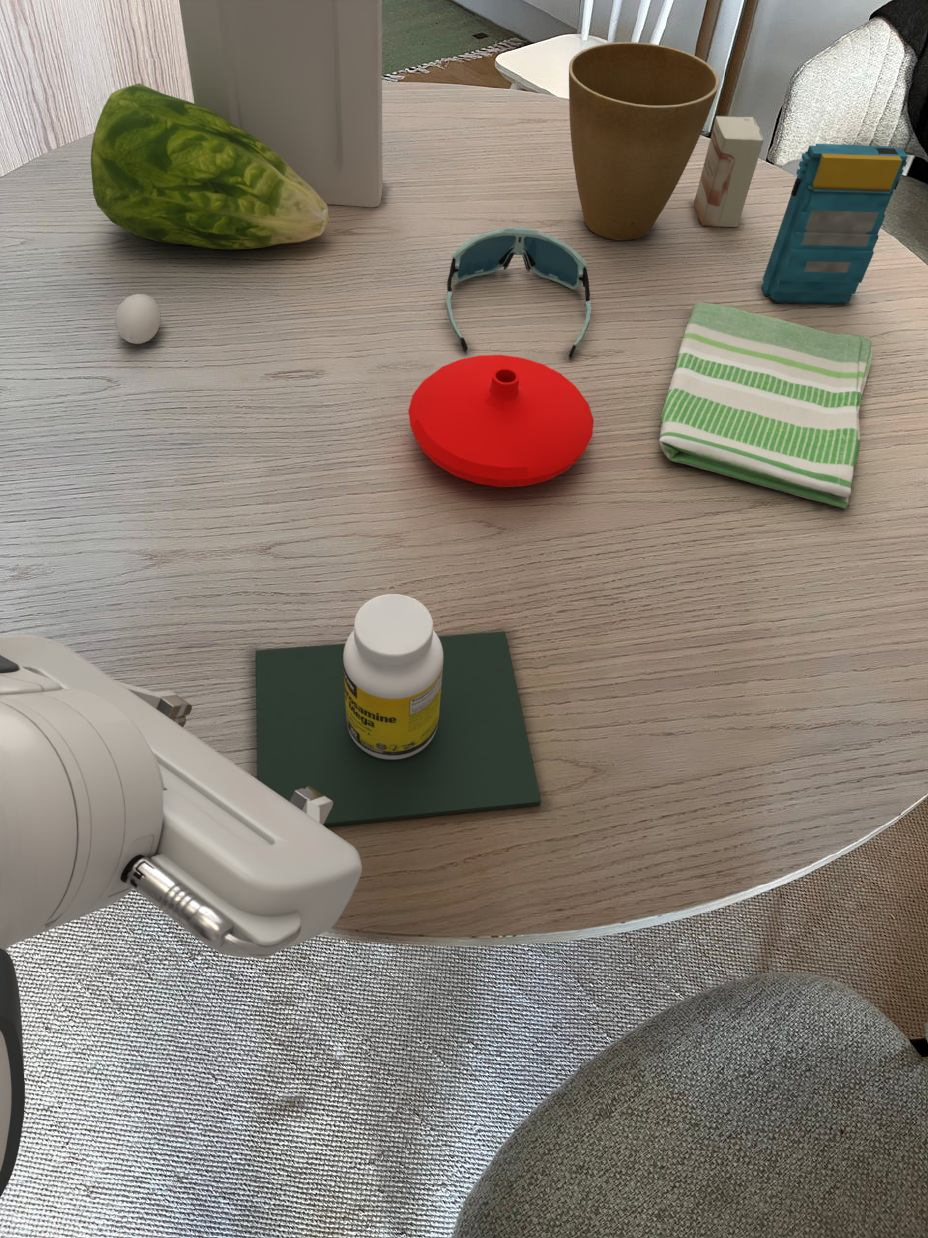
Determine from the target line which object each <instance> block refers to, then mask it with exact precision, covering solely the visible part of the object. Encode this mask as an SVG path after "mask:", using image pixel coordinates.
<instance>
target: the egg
mask: <svg viewBox="0 0 928 1238" xmlns="http://www.w3.org/2000/svg"><path fill="white" fill-rule="evenodd" d="M161 314H162V313H161V310H160V307H159V305H158V303H157V301H155V300H154V298H152V297H151V296H149V295H147V294H144V293H135V294H132V295H128V297H126V298H125V299H123V300H122V302H121V303H120V304H119V306H118V308H117V311H116V313H115V327H116V330H117V332H118V334H119V336H120V337H121V338H122V339H123V340H124V341H126V342H127V343H130V344H135V345H140V344H144V343H147V342H149V341H150V340H152V339H153V338H154V337H155V336H156V335H157V333H158V331H159V328H160V326H161V323H162V317H161V316H162V315H161Z"/></svg>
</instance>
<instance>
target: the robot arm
mask: <svg viewBox="0 0 928 1238" xmlns="http://www.w3.org/2000/svg"><path fill="white" fill-rule="evenodd" d="M192 709H193V705H192V704H191V703H190V702H188V701H186V700H185V699H183V698H182V697H181V696H179V695H178V694H177V693H175V692H174V691H172V690H170V689H169V690H159V691H158V690H157V691H153V690H150V689H146V688H143V687H140V686H135V685H132V684H129V683H126V682H122V681H117V680H115V679H114V678H112V677H111V676H110V675H108V674H106V672H104V671H102V670H101V669H100V668H98V667H97V666H96V665H94V664H92V663H91V662H89V661H88V660H87V659H85V658H84V657H83V656H81V655H80V654H78V653H77V652H76V651H74V650H73V649H72V648H70V647H69V646H67V645H66V644H63V643H60V642H58V641H55V640H52V639H50V638H46V637H42V636H39V635H36V634H35V635H34V634H19V633H0V1198H1V1197H2V1195H3V1194H4V1192H5V1190H6V1188H7V1186H8V1184H9V1182H10V1179H11V1178H12V1175H13V1172H14V1169H15V1166H16V1163H17V1160H18V1155H19V1150H20V1146H21V1139H22V1133H23V1127H24V1120H25V1110H26V1109H25V1107H26V1080H25V1058H24V1040H23V1039H24V1037H23V1021H22V1008H21V1007H22V1006H21V1004H22V1003H21V995H20V988H19V981H18V977H17V973H16V967H15V964H14V961H13V959H12V957H11V955H10V953H9V952H7V949H8V948H9V947H11V946H14V945H16V944H19V943H20V942H23V941H26V940H29V939H31V938H33V937H35V936H38V935H40V934H43V933H45V932H48V931H50V930H53V929H56V928H58V927H60V926H62V925H64V924H68V923H71V922H73V921H75V920H78V919H80V918H83V917H85V916H88V915H90V914H93V913H95V912H99V911H100V910H103V909H105V908H107V907H110V906H113V905H114V904H115V903H117V902H118V901H120V900H122V899H123V898H124V897H126V896H127V895H128V894H129V893H130V892H132V890H134V891H136V892H137V893H139V895H141V896H142V897H143V898H144V899H146V900H147V901H148V902H150V903H151V904H152V905H153V906H155V907H156V908H157V909H158V910H160V911H161V912H163V913H164V915H166V916H167V917H169V918H170V919H171V920H172V921H174V922H175V923H177V924H178V925H179V926H180V927H181V928H183V930H185V931H187V932H188V933H189V934H190V935H192V936H193V937H194V938H195V939H197V940H198V941H200V942H201V943H203V944H204V945H206V946H207V947H209V948H210V949H213V950H214V951H216V952H218V953H220V954H223V955H226V956H230V957H235V958H245V959H246V958H252V959H256V960H263V959H267V958H270V957H272V956H274V955H275V954H277V953H279V952H280V951H283V950H286V949H289V948H291V947H292V948H293V947H294V946H297V945H300V944H302V943H305V942H307V941H309V940H311V939H314V938H316V937H318V936H320V935H322V934H324V933H326V932H327V931H329V930H331V929H332V928H333V927H334V926H335V924H336V923H337V922H338V921H339V919H340V917H341V916H342V914H343V913H344V911H345V910H346V907H347V905H348V903H350V900H351V898H352V896H353V894H354V892H355V890H356V888H357V886H358V884H359V881H360V879H361V876H362V873H363V865H362V860H361V856H360V853H359V851H358V850H357V849H356V847H354V846H353V845H352V844H351V843H349V842H348V841H347V840H345V839H344V838H342V837H341V836H339V835H337V833H335V832H333V831H332V830H330V829H329V828H327V827H325V826H323V824H324V822H325V820H326V818H327V816H328V814H329V812H330V810H331V808H332V806H333V801H331V800H330V799H328V798H327V797H325V796H324V795H323V794H321V793H320V792H318V791H317V790H315V789H314V788H312V787H310V786H307V787H306V789H303V788H301V789H298V790H295V792H294V794H293V796H292V798H291V800H290V802H289V801H287V800H286V799H284V798H283V797H282V796H280V795H279V794H277V793H276V792H274V791H273V790H272V789H270V788H269V787H267V786H266V785H264V784H263V783H262V782H260V781H259V780H258V778H256V777H255V776H253V775H252V774H250V773H249V772H247V771H246V770H244V769H243V768H242V767H240V766H239V765H238V764H236V763H234V762H233V761H232V760H230V759H228V757H226V756H224V755H223V754H222V753H220V752H219V751H217V750H216V749H215V748H213V747H211V746H210V745H209V744H207V743H206V742H204V741H203V740H202V739H201V738H199V737H197V736H196V735H194V734H192V732H190V731H189V730H187V729H185V725H186V723H187V716H190V715H191V712H192Z"/></svg>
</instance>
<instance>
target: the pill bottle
mask: <svg viewBox="0 0 928 1238" xmlns="http://www.w3.org/2000/svg"><path fill="white" fill-rule="evenodd" d="M354 617H355V618H354V621H353V630H352V631H351V632H350V634H349V635H348V637H347V640H346V641H345V643H344V644H345V648H344V654H343V665H344V687H345V704H346V720H347V726H348V730H349V733H350V735H351V737H352V739H353V740H354V742H355V743H356V744H357V745H358V746H359V747H360V748H361V749H362V750H364V751H365V752H367V753H368V754H370V755H372V756H375V757H377V758H381V759H391V760H394V759H403V758H407V757H409V756H412V755H414V754H416V753H418V752H419V751H421V750H422V749H424V748H425V747H426V746H427V745H428V744H429V743H430V742H431V740H432V739H433V737H434V735H435V733H436V730H437V726H438V719H439V709H440V695H441V683H442V670H443V648H442V645H441V642H440V640H439V638H438V636H439V635H438V634H437V633H436V632H435V630H434V621H433V618H432V614H431V613H430V611H429V609H428V608H427V607H426V606H425V605H424V604H423V603H422V602H420V601H419V600H418V599H415V598H414V597H412V596H409V595H404V594H399V593H386V594H382V595H378V596H375V597H372V598H371V599H369V600H367V601H366V602H365V603H364V604H362V605H361V607H360V608H359V609H358V610H357V613H356V615H355V616H354Z"/></svg>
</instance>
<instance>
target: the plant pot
mask: <svg viewBox="0 0 928 1238" xmlns="http://www.w3.org/2000/svg"><path fill="white" fill-rule="evenodd" d="M719 87H720V77H719V74H718V72H717V71H716V70H715V69H714V68H713V66H711V65H710V64H708V63H707V62H706V61H705V60H703V59H702V58H700V57H698V56H696V55H693V54H692V53H690V52H689V53H688V52H686V51H683V50H681V49H678V48H674V47H670V46H666V45H661V44H656V43H650V42H649V43H648V42H635V41H620V42H619V41H618V42H607V43H602V44H597V45H593V46H590V47H587V48H584V49H582V50H581V51H579V52H577V53H576V54H575V55H574V56H573V57H572V58H571V60H569V63H568V105H569V107H568V109H569V130H570V132H569V133H570V142H571V143H570V144H571V151H572V161H573V167H574V174H575V181H576V187H577V192H578V199H579V202H580V207H581V211H582V216H583V221H584V224H585V225H586V227H587V228H588V229H589V230H590V231H591V232H592V233H594V234H596V235H597V236H600V237H602V238H605V239H609V240H614V241H632V240H637V239H640V238H642V237H644V236H645V235H647V234H648V233H649V231H650V230H651V229H652V227H653V226H654V224H655V223H656V221H657V220H658V218H659V216H660V215H661V213H662V212H663V211H664V208H665V206H667V205H666V204H667V203H668V201H669V200H670V198H671V196H672V194H673V193H674V191H675V189H676V187H677V185H678V184H679V181H680V180H681V177H682V176H683V174H684V171H685V169H686V167H687V165H688V163H689V161H690V159H691V157H692V155H693V152H694V151H695V148H696V146H697V145H698V142H699V139H700V137H701V134H702V132H703V129H704V127H705V125H706V122H707V120H708V117H709V115H710V111H711V109H712V106H713V104H714V101H715V99H716V96H717V93H718V89H719Z"/></svg>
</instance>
